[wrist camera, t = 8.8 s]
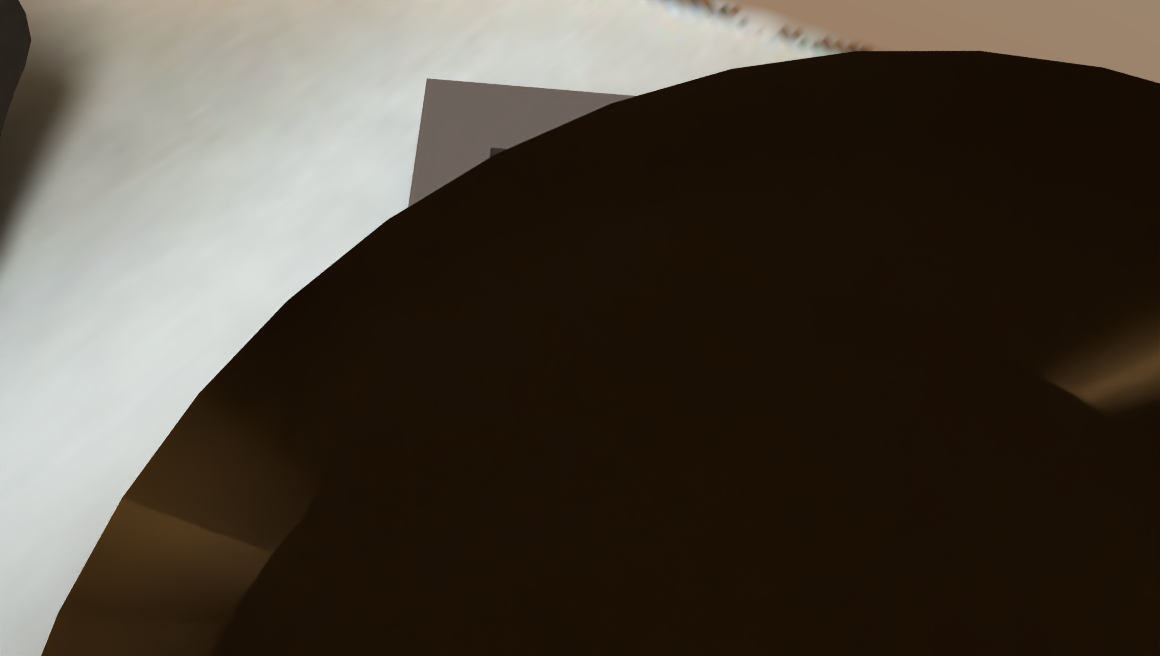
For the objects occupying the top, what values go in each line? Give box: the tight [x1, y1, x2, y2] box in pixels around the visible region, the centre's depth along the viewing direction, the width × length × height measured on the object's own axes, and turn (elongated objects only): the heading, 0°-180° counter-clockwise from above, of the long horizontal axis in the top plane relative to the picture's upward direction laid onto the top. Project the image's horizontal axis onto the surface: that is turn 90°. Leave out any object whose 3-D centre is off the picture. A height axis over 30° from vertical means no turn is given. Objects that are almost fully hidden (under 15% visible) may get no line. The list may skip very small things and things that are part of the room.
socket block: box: [408, 79, 635, 207], centre depth 21 cm, size 9×9×3 cm
